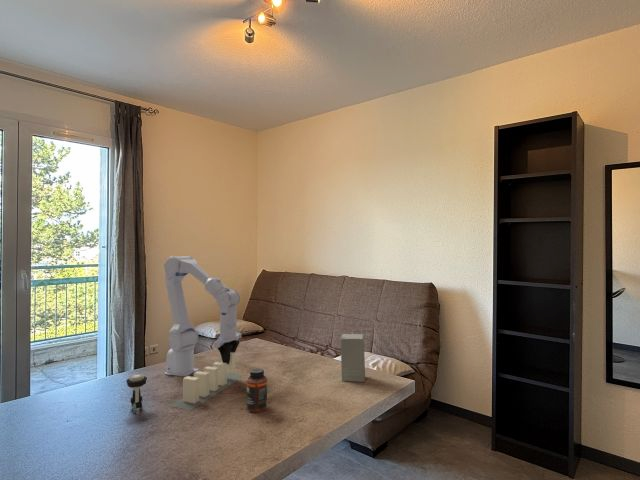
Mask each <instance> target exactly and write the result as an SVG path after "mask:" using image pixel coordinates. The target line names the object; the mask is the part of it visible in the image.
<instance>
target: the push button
mask: <svg viewBox="0 0 640 480" xmlns="http://www.w3.org/2000/svg"><path fill="white" fill-rule="evenodd" d="M147 380H148V377H147V376H145V375H144V373H134V374H131V375H130V376H129V378H127V379H126V386H127V387H129V388H131V389H133V390H132V397H130V411H133V413H136V415H139V414H140V412H141V409H143V396H142V395H141V388H142V387H143V386H144V385H147Z"/></svg>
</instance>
